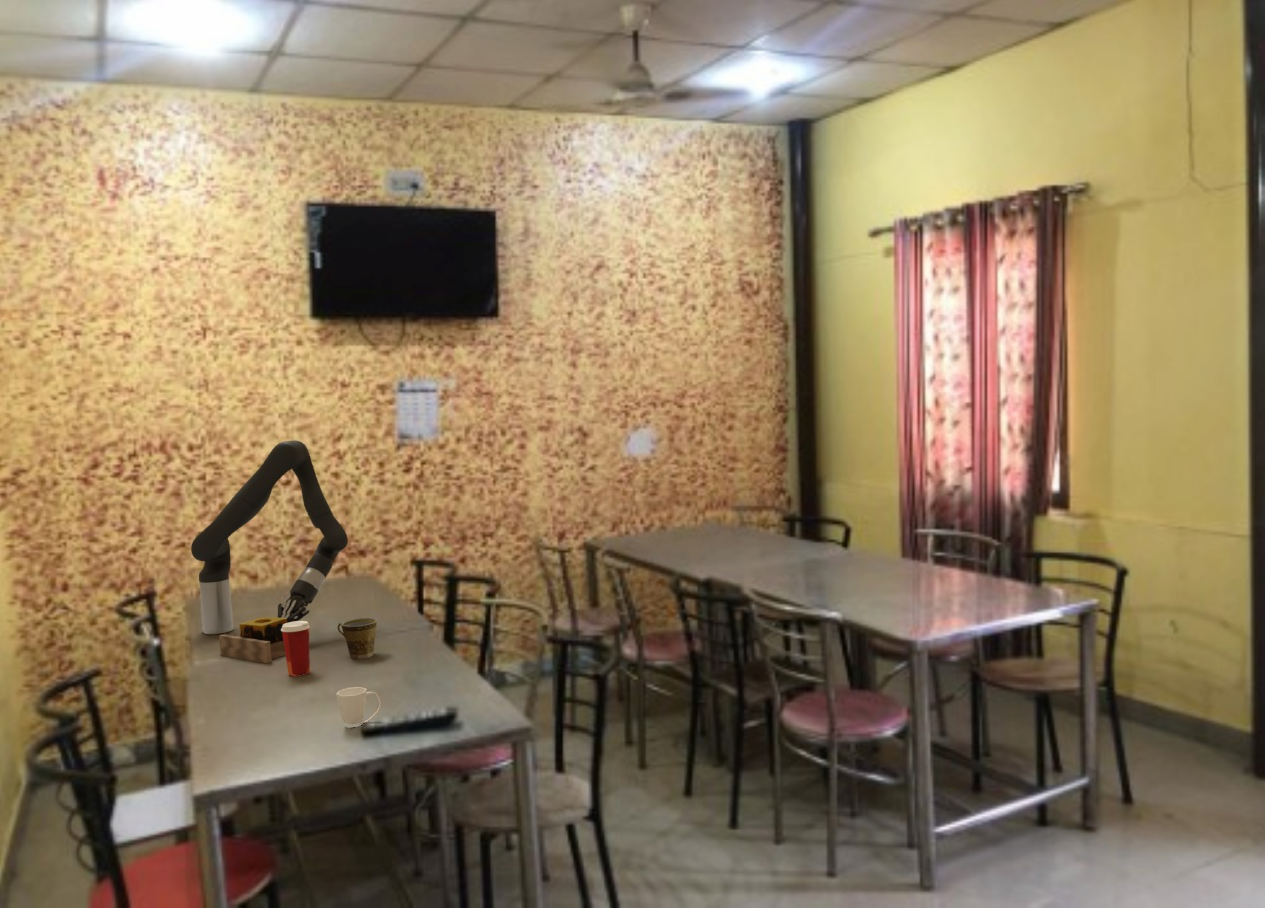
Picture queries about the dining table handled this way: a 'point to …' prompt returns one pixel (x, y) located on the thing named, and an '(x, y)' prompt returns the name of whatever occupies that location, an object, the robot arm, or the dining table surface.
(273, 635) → the candle
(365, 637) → the ceramic cup
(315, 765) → the dining table surface
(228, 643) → the brown rectangular block structure
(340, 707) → the cup
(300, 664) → the paper cup
